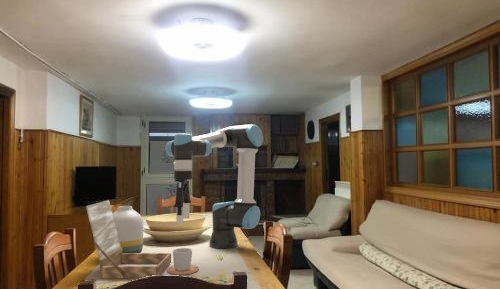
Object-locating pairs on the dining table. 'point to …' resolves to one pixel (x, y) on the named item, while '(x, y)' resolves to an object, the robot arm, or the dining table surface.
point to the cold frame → (119, 248)
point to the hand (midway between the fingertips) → (183, 220)
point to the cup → (182, 259)
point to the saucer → (190, 271)
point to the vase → (129, 229)
